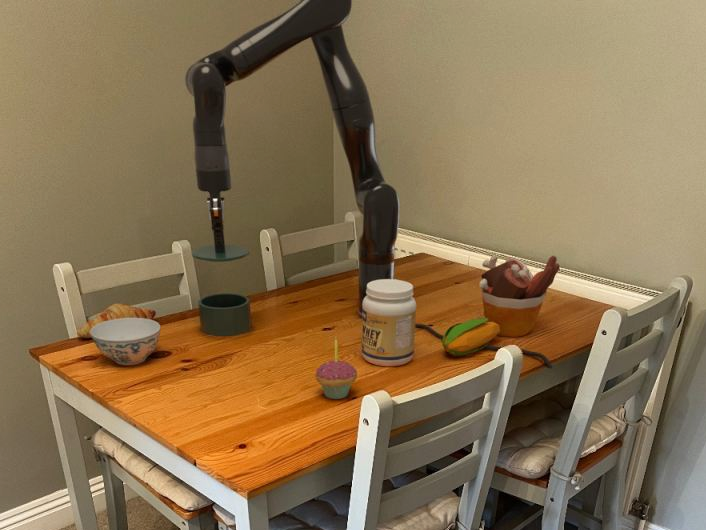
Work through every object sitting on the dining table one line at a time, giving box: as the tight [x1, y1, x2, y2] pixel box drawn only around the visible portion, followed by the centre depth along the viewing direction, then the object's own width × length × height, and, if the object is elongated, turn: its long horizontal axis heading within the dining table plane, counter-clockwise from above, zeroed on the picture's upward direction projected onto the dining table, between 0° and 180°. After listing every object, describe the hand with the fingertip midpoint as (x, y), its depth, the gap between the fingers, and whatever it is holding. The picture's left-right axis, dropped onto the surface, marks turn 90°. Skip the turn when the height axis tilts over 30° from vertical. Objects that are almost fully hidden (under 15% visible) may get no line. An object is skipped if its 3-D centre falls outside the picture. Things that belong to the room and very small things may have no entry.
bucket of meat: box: [478, 254, 560, 338], centre depth 185 cm, size 20×16×20 cm
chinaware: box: [90, 318, 161, 366], centre depth 167 cm, size 15×15×8 cm
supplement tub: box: [361, 279, 417, 367], centre depth 169 cm, size 12×12×17 cm
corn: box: [441, 317, 500, 357], centre depth 177 cm, size 7×8×20 cm
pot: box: [197, 292, 253, 338], centre depth 186 cm, size 12×12×8 cm
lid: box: [191, 231, 250, 263], centre depth 175 cm, size 13×13×6 cm
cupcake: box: [315, 335, 358, 400], centre depth 152 cm, size 9×8×12 cm
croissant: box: [76, 302, 157, 339], centre depth 185 cm, size 21×10×8 cm, turn 136°
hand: (220, 246), depth 175 cm, fingers closed on lid, 2 cm apart
